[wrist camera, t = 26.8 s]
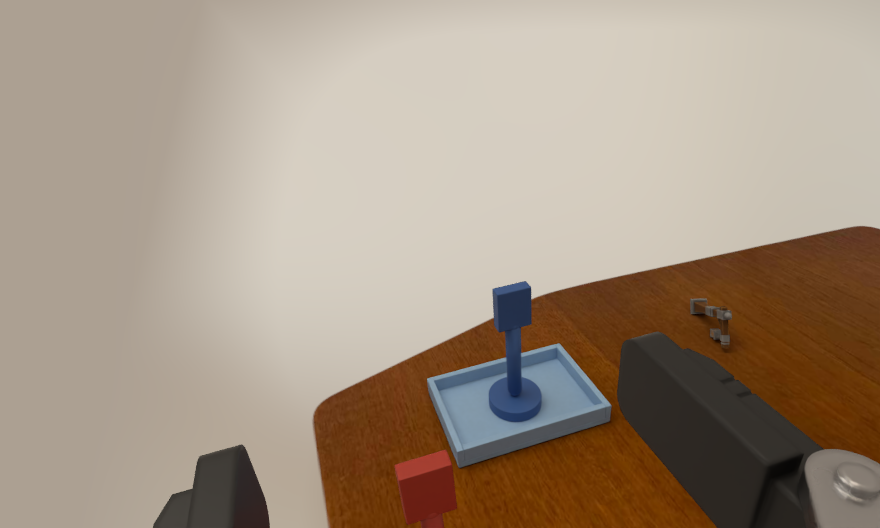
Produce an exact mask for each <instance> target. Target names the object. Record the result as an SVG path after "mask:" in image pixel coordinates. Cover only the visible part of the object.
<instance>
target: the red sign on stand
mask: <svg viewBox="0 0 880 528" xmlns="http://www.w3.org/2000/svg"><path fill="white" fill-rule="evenodd" d="M395 471H396V476H397V481H398V486H399V492H400V497H401V502H402V507H403V511H404V515H405V519H406V523H407V525H408V524H412V523H415V522H418V521H421V527H422V528H444V524H443V517H442V513H445V512H448V511H451V510H454V509H457V503H456V495H455V486H454V478H453V469H452V463H451V461H450V458H449V456H448V453H447V451H446V450H443V451H440V452H436V453H433V454H430V455H426V456H423V457H420V458H416V459H413V460H410V461H406V462H403V463H400V464H396V465H395Z"/></svg>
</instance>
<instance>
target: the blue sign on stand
mask: <svg viewBox="0 0 880 528" xmlns="http://www.w3.org/2000/svg"><path fill="white" fill-rule="evenodd" d="M493 309H494V326H495V327H496V329H497V330H498V332H503V331H505V336H506V363H507V377H505V378H502V379H500V380H498V381H496V382H495V383H494V384H493V385H492V386H491V388H490V390H489V406H490V409H491V410H492V412H493V413H494V414H495V415H496V416H498V417H499V418H501V419H503V420H506V421H511V422H522V421H526V420H529V419H531V418H533V417H534V416H535V415H537V413H538V412H539V411H540V409H541V404H542V394H541V390H540V388H539V387H538V386H537V385H536V384H535V383H534V382H533V381H531V380H529V379H527V378H524V377H522V371H521V327H523V326H526V325H530V324H531V287H530V286H529V285H528V283H527V282H526V281H524V282H520V283H516V284H512V285H507V286H503V287H499V288H495V289H493Z"/></svg>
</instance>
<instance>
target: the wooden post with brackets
mask: <svg viewBox="0 0 880 528" xmlns="http://www.w3.org/2000/svg"><path fill="white" fill-rule="evenodd" d="M690 303H691V314H703V313H706V315H709V316H711V317H717V318H718V321H719V324H720V327H721V330H719V329H710V337H714V340H717V339H720V341H721V347H722V348H729V342H730V335H729V333H728V320H730V319H732V318H731V317H732V315H731V311H729V310H727V307H725V306H721V307H720V308H719V307H714V306H709V305H708V304H707V299H690Z"/></svg>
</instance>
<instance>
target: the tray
mask: <svg viewBox="0 0 880 528" xmlns="http://www.w3.org/2000/svg"><path fill="white" fill-rule="evenodd" d="M521 371H522V377H524V378H527V379H529V380H531V381H533V382H534V383H535V384H536V385H537V386H538V387H539V388H540V390H541V394H542V404H541V409H540V411H539V412H538V413H537V415H535V416H534V417H533V418H531V419H529V420H526V421H522V422H511V421H506V420H503V419H501V418H499V417H498V416H496V415H495V414H494V413H493V412H492V410H491V409H490V406H489V390H490V388H491V386H492V385H493V384H494V383H495V382H496V381H498V380H500V379H502V378H505V377H507V363H506V358H502V359H499V360H495V361H491V362H487V363H484V364H480V365H476V366H472V367H469V368H465V369H461V370H457V371H454V372H450V373H446V374H443V375H439V376H435V377H433V378H432V377H431V378H428V379H427V382H428V389H429V395H430V397H431V400H432V402H433V405H434V407H435V410H436V412H437V415H438V417H439V420H440V422H441V425H442V427H443V430H444V432H445V435H446V437H447V440H448V442H449V445H450V447H451V450H452V452H453V455H454V457H455V460H456V462H457V465H458V467H459V468H461V467H464V466H467V465H470V464H473V463H477V462H480V461H483V460H486V459H490V458H493V457H496V456H499V455H503V454H506V453H509V452H512V451H515V450H519V449H522V448H525V447H528V446H532V445H535V444H538V443H541V442H545V441H548V440H551V439H554V438H558V437H561V436H564V435H567V434H570V433H574V432H577V431H580V430H583V429H587V428H590V427H593V426H596V425H600V424H603V423H606V422H609V421H610V414H611V404H610V403H609V402H608V401H607V400H606V398H605V397H604V396H603V395H602V394H601V392H600V391H599V390H598V389H597V388H596V386H595V385H594V384H593V383H592V382H591V380H590V379H589V378H588V377H587V376H586V375H585V373H584V372H583V371H582V370H581V369H580V367H579V366H578V365H577V364H576V363H575V361H574V360H573V359H572V358H571V357H570V355H569V354H568V353H567V352H566V351H565V350H564V348H563V347H562V346H561V345H560V344H559V343H558V344H555V345H551V346H547V347H543V348H540V349H536V350H532V351H528V352H525V353H521Z"/></svg>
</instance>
